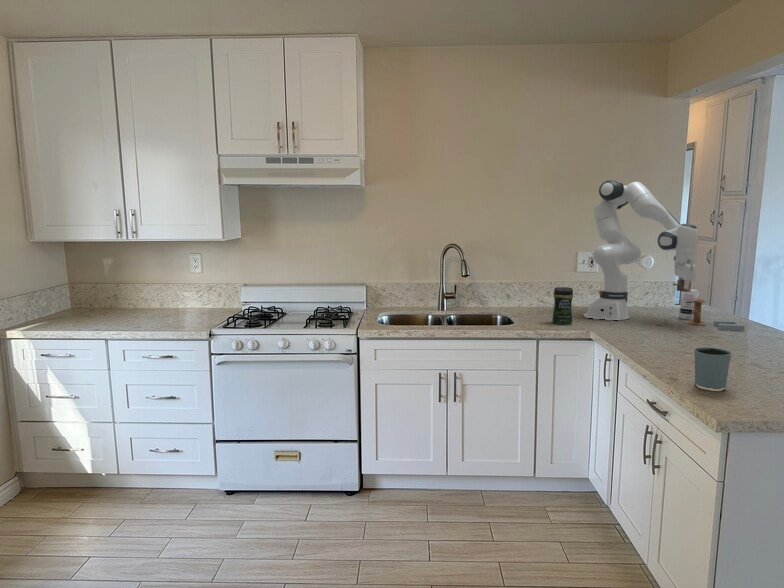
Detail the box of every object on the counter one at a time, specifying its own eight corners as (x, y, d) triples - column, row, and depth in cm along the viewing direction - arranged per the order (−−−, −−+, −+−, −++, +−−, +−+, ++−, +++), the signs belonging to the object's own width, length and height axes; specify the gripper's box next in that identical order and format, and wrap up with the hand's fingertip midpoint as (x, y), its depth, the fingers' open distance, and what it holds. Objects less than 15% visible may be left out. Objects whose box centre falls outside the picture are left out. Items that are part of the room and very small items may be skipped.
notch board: (719, 330, 251) (719, 324, 251) (713, 325, 261) (713, 320, 261) (744, 331, 248) (744, 325, 248) (737, 326, 258) (737, 321, 258)
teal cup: (694, 390, 170) (697, 353, 168) (689, 381, 179) (692, 345, 177) (731, 393, 166) (734, 356, 164) (724, 383, 175) (727, 348, 174)
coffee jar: (553, 324, 270) (554, 288, 267) (551, 321, 278) (552, 286, 275) (573, 325, 268) (574, 288, 266) (571, 322, 276) (572, 286, 273)
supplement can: (693, 317, 282) (694, 288, 280) (700, 320, 274) (702, 291, 272) (676, 317, 283) (678, 288, 281) (683, 320, 275) (685, 291, 273)
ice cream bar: (670, 289, 262) (671, 279, 261) (674, 289, 263) (675, 278, 262) (686, 291, 255) (687, 281, 254) (690, 291, 256) (691, 281, 255)
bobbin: (690, 325, 263) (691, 301, 261) (687, 322, 269) (688, 298, 268) (706, 325, 261) (708, 301, 259) (703, 322, 267) (704, 299, 265)
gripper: (700, 261, 244) (697, 291, 247) (686, 256, 264) (684, 284, 266) (685, 261, 246) (682, 290, 248) (672, 256, 265) (670, 284, 268)
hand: (683, 287), depth 257 cm, fingers closed on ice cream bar, 6 cm apart
